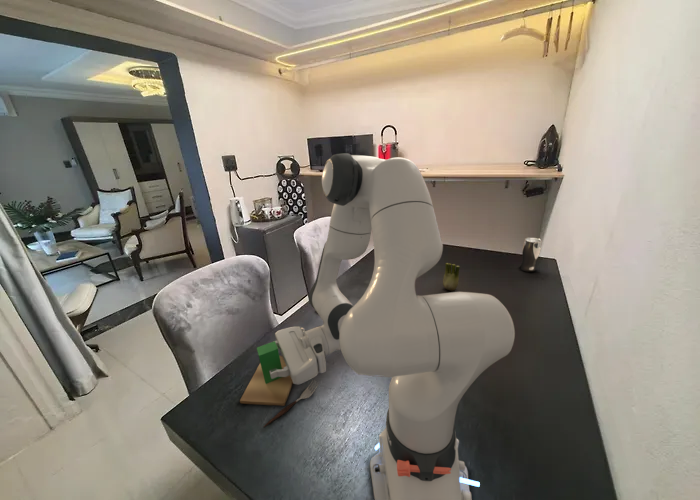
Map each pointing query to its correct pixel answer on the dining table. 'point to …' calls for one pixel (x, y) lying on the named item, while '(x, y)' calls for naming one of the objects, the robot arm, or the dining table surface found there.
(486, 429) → the dining table surface
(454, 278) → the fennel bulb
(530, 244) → the beer glass
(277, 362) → the brick
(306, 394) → the fork
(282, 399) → the board
